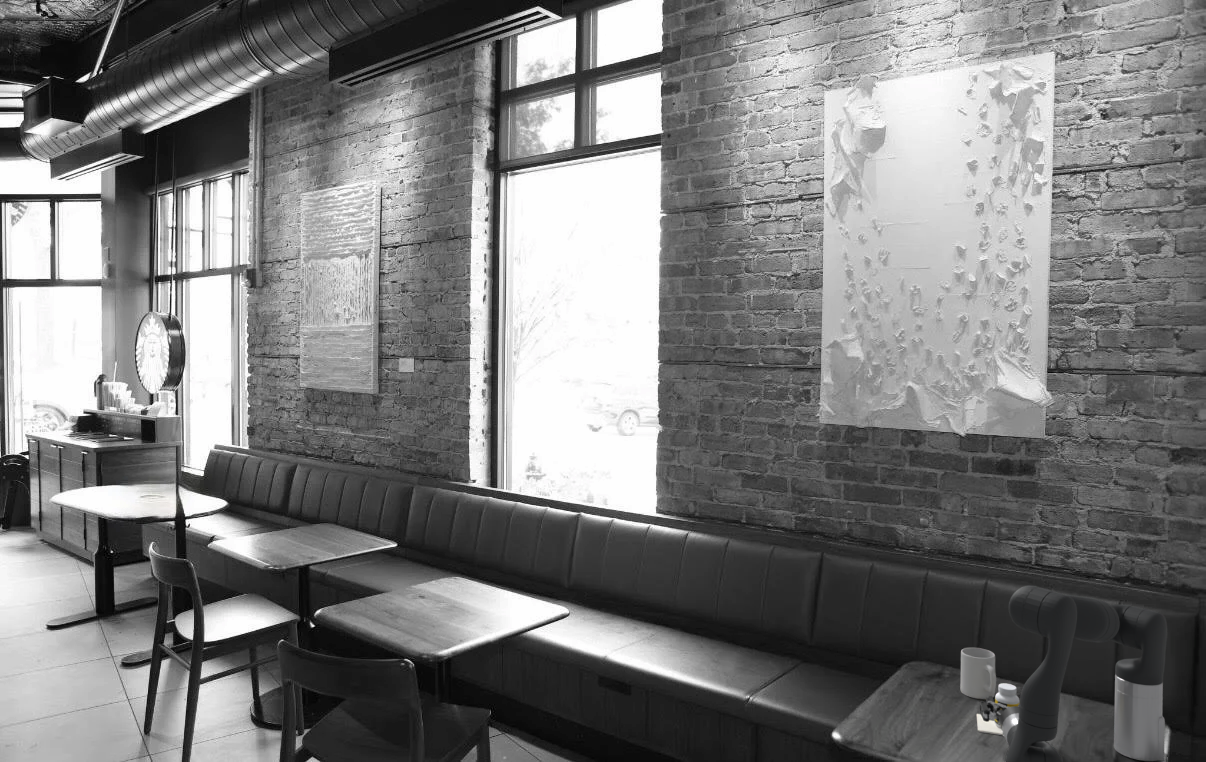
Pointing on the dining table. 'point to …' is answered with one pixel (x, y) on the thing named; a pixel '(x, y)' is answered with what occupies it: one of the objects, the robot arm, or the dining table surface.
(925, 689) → the dining table surface
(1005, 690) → the supplement bottle
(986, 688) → the mug
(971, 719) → the dining table surface
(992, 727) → the letter card
